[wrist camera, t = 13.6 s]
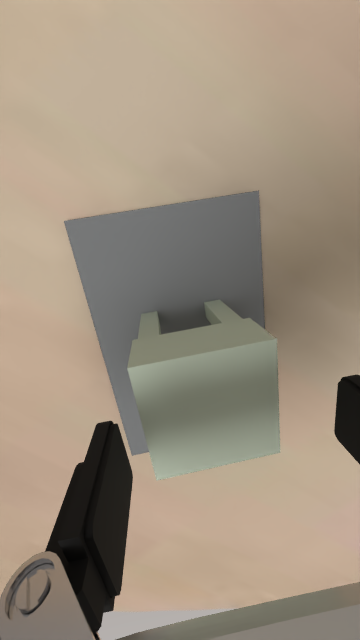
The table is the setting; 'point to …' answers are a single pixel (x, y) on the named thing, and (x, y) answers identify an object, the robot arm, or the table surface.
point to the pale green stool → (206, 392)
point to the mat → (166, 276)
